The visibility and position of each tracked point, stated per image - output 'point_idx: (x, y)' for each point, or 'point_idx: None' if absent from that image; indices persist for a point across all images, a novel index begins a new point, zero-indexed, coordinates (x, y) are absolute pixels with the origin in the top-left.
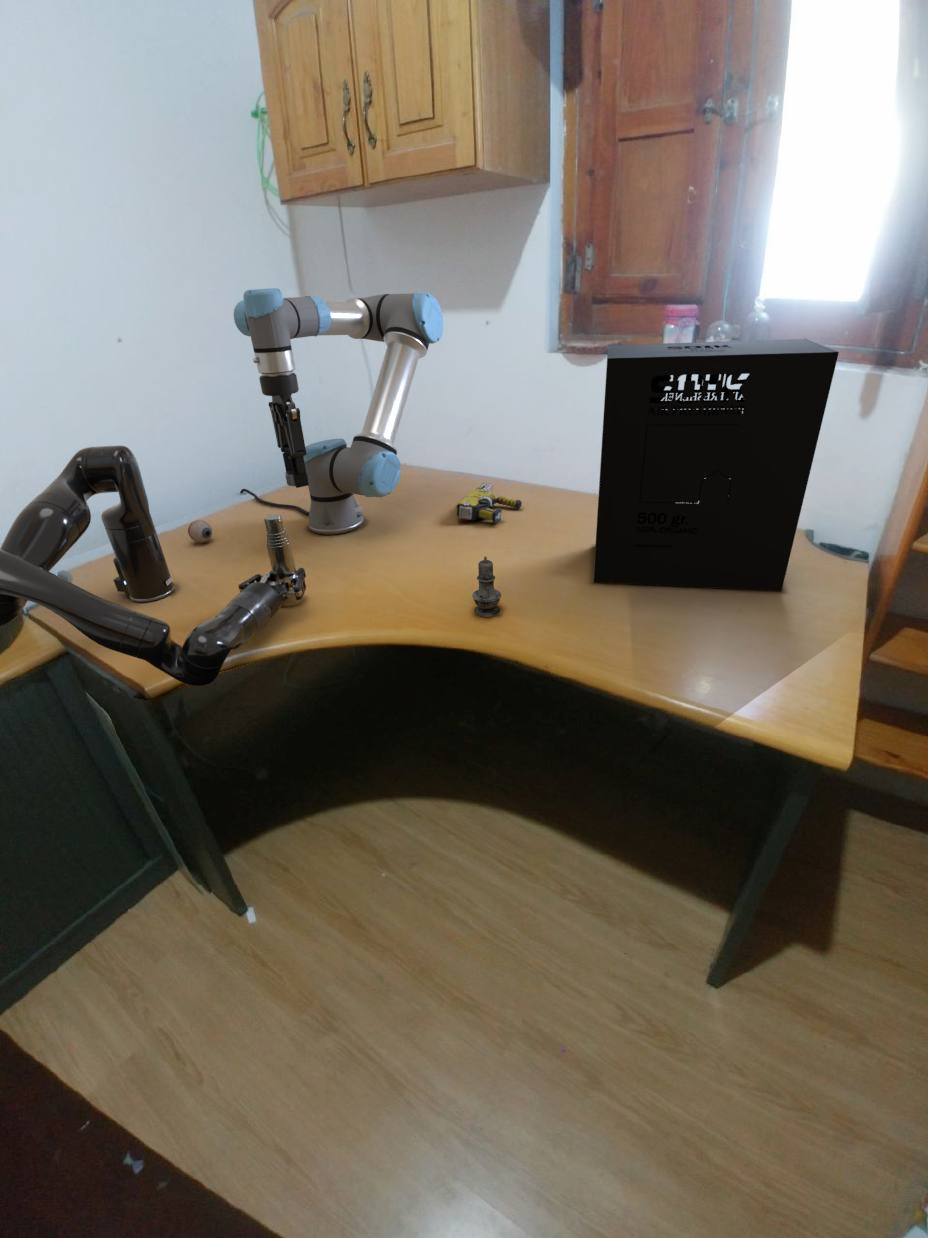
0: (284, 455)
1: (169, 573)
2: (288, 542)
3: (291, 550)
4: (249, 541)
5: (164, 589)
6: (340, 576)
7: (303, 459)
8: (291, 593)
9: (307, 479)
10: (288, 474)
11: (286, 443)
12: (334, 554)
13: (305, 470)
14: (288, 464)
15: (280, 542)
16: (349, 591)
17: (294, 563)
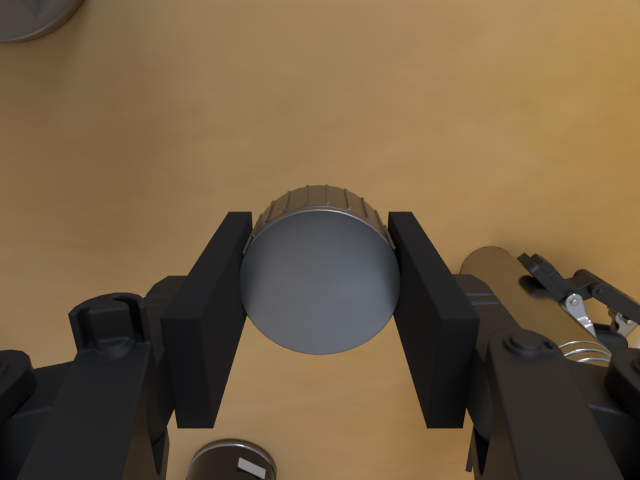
0: (215, 408)
1: (234, 473)
2: (607, 350)
3: (582, 325)
4: (12, 245)
5: (267, 470)
6: (448, 110)
7: (469, 304)
8: (632, 327)
9: (419, 225)
10: (351, 347)
11: (154, 470)
12: (276, 56)
13: (438, 255)
14: (235, 335)
15: None
16: (555, 129)
17: (552, 298)
